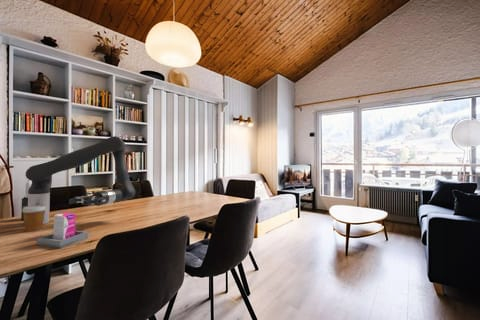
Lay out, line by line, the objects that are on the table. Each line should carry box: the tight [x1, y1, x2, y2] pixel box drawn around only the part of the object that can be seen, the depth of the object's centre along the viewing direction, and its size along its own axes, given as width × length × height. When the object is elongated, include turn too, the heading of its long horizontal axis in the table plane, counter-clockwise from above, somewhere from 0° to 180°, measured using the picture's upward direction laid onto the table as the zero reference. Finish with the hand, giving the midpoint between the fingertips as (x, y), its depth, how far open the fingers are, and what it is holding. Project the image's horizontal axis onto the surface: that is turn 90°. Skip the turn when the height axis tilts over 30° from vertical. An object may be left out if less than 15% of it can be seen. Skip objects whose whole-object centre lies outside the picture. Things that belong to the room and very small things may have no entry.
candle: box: [20, 179, 32, 221], centre depth 137 cm, size 5×5×25 cm
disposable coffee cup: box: [21, 205, 46, 233], centre depth 118 cm, size 10×10×12 cm
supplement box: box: [52, 212, 77, 240], centre depth 103 cm, size 6×6×12 cm
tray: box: [36, 229, 89, 249], centre depth 103 cm, size 13×13×3 cm
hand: (76, 202), depth 109 cm, fingers open, 8 cm apart
